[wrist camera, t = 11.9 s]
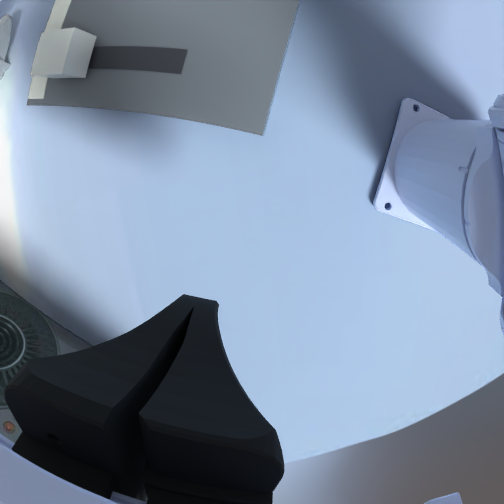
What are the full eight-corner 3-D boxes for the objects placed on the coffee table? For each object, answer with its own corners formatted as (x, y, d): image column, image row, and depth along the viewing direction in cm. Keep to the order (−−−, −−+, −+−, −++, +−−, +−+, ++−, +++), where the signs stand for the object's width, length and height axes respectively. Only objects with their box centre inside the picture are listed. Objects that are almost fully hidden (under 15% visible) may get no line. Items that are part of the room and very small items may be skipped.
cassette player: (209, 402, 28) (165, 590, 9) (187, 432, 30) (146, 584, 12) (-14, 267, 24) (-130, 362, 6) (-11, 311, 27) (-105, 403, 8)
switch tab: (96, 36, 14) (74, 27, 12) (85, 78, 15) (61, 73, 13) (64, 39, 14) (41, 32, 11) (53, 78, 15) (30, 75, 13)
